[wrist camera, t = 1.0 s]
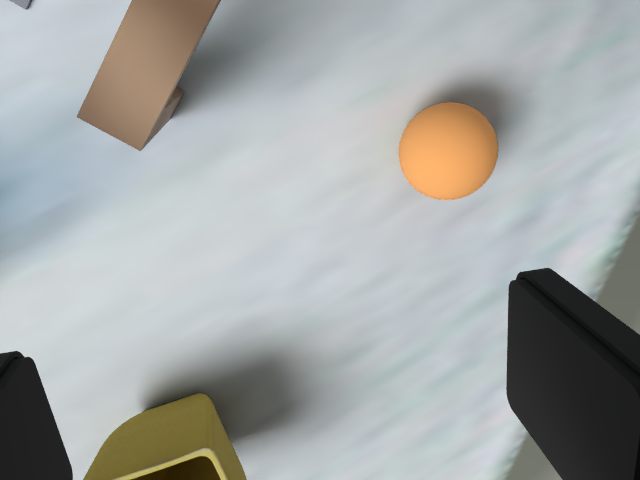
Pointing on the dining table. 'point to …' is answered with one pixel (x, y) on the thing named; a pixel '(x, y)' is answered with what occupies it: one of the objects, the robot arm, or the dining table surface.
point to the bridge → (145, 68)
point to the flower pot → (169, 446)
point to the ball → (448, 151)
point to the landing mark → (22, 3)
